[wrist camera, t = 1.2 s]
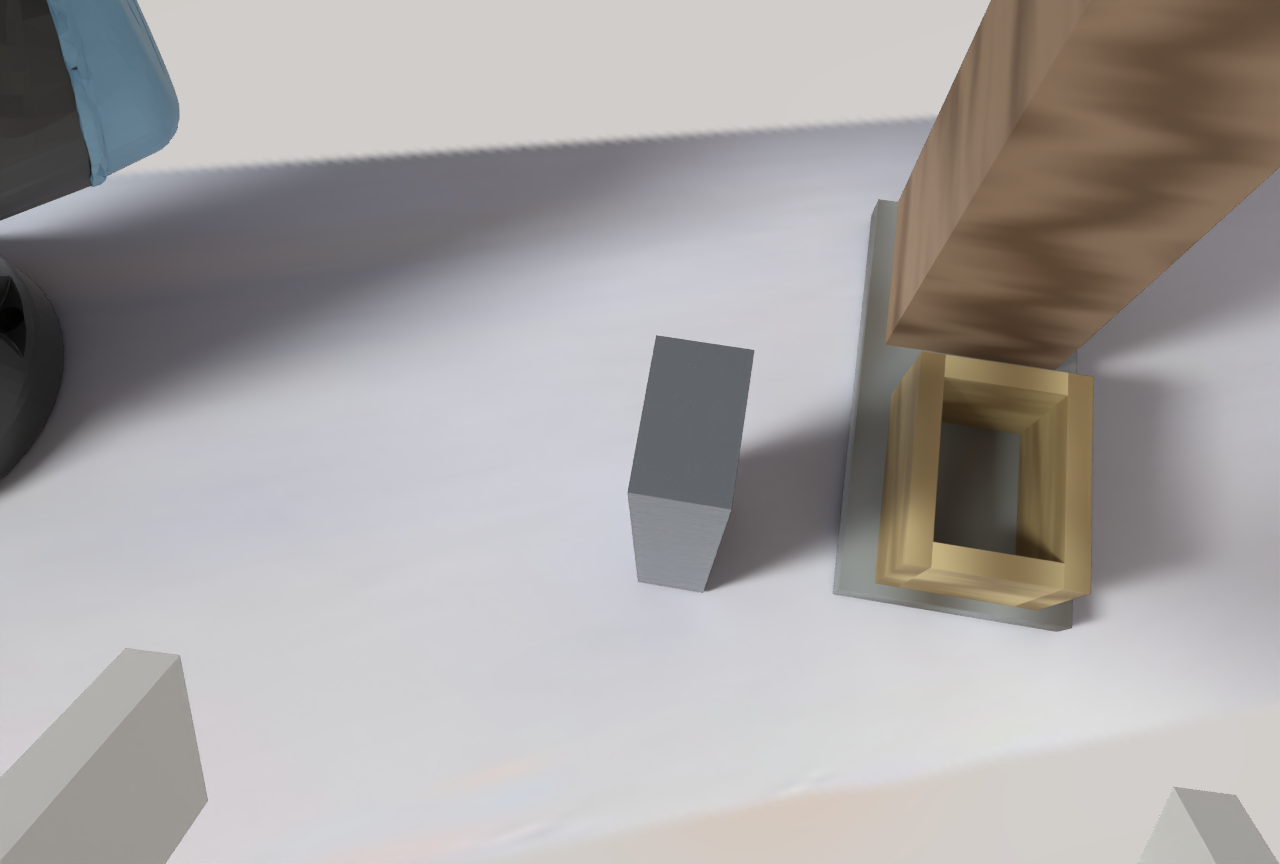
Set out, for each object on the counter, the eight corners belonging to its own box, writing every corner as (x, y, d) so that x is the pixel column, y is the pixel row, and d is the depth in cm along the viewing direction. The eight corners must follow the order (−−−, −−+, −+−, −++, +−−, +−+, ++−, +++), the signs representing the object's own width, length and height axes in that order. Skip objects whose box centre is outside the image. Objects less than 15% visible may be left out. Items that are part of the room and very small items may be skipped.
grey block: (638, 581, 41) (627, 492, 25) (655, 477, 42) (656, 335, 27) (703, 592, 40) (731, 509, 25) (718, 488, 42) (754, 350, 27)
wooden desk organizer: (832, 593, 40) (1053, 424, 18) (871, 215, 46) (1071, -259, 24) (1056, 631, 39) (1576, 503, 17) (1065, 242, 46) (1455, -221, 23)
